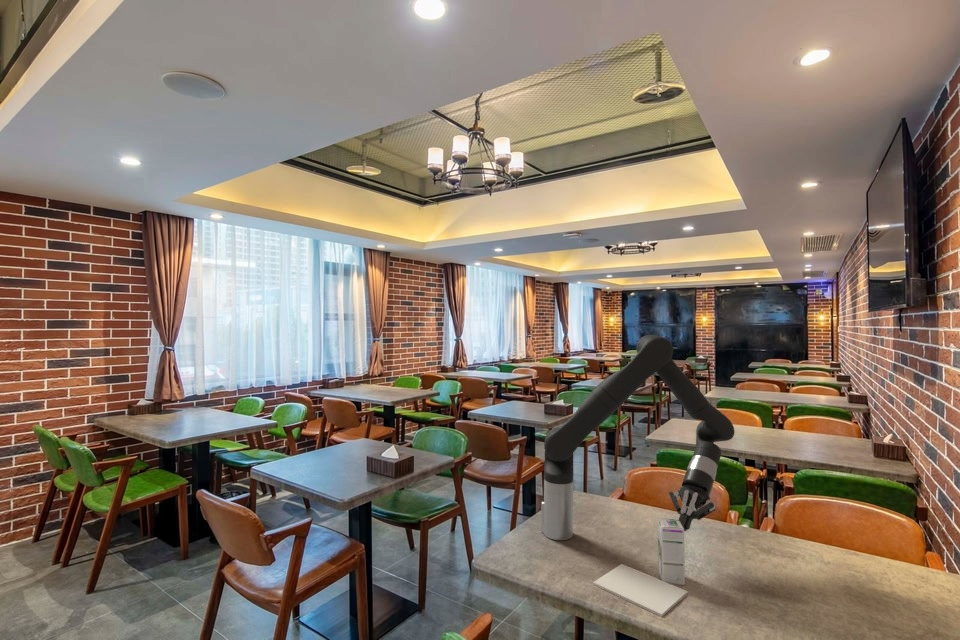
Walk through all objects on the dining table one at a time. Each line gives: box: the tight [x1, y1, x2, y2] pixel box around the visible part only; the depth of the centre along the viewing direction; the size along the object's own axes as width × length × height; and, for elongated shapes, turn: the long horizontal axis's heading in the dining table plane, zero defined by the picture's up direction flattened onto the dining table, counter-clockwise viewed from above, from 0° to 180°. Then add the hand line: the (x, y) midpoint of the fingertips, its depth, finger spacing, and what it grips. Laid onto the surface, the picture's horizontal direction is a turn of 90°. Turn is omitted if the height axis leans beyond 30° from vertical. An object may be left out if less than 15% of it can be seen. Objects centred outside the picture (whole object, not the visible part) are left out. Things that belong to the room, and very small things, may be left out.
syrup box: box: [657, 517, 686, 586], centre depth 121 cm, size 6×6×14 cm
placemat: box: [592, 563, 689, 618], centre depth 116 cm, size 18×14×1 cm
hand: (682, 529), depth 126 cm, fingers closed
